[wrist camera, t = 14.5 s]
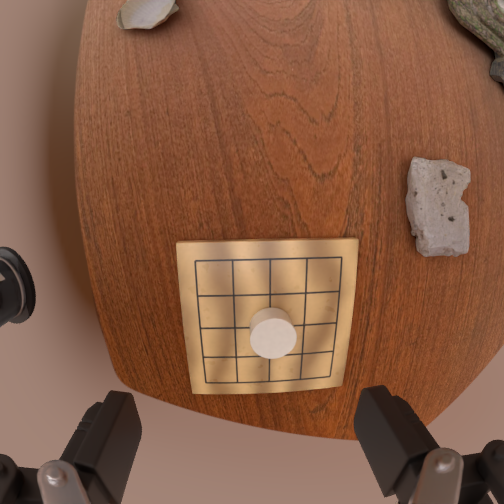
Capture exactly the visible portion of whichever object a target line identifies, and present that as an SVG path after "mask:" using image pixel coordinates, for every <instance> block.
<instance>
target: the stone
mask: <svg viewBox="0 0 504 504" xmlns="http://www.w3.org/2000/svg"><path fill="white" fill-rule="evenodd" d="M469 183H470V170H469V169H468V168H466V167H464V166H461V165H457V164H456V163H454V162H453V161H448V160H446V159H440V160H426V159H425V158H419V157H413V158H412V162H411V166H410V168H409V172H408V177H407V184H408V193H407V196H406V199H405V200H406V208H407V215H408V219H409V221H410V224H411V229H412V231H411V234H412V235H413V236H416V247H417V251H418V252H419V253H421V254H422V255H423V256H424V257H428V256H438V255H446V256H450V255H453V256H455V257H457V256H459V255H460V254H465V253H467V252H468V249H469V235H470V233H469V214H468V206H467V205H466V204H465V203H464V202H463V201H461V196H462V195H463V194H462V192H463V190H464V189H466V188H467V185H468V184H469Z"/></svg>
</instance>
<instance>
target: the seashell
mask: <svg viewBox="0 0 504 504" xmlns="http://www.w3.org/2000/svg"><path fill="white" fill-rule="evenodd" d="M178 10H179V7H178V5H176V0H127V1H126V3H125V4H123V6H122V8H121V9H120V10H119V12H118V15H117V20H116V21H117V25H118V27H119V28H122V29H137V28H145V29H152V28H154V27H155V26H157V25H159V24H162V23H164V22H165V21H166V20H167V19H168V18H169V16H170V15H171V14H173V13H174V12H176V11H178Z"/></svg>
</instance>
